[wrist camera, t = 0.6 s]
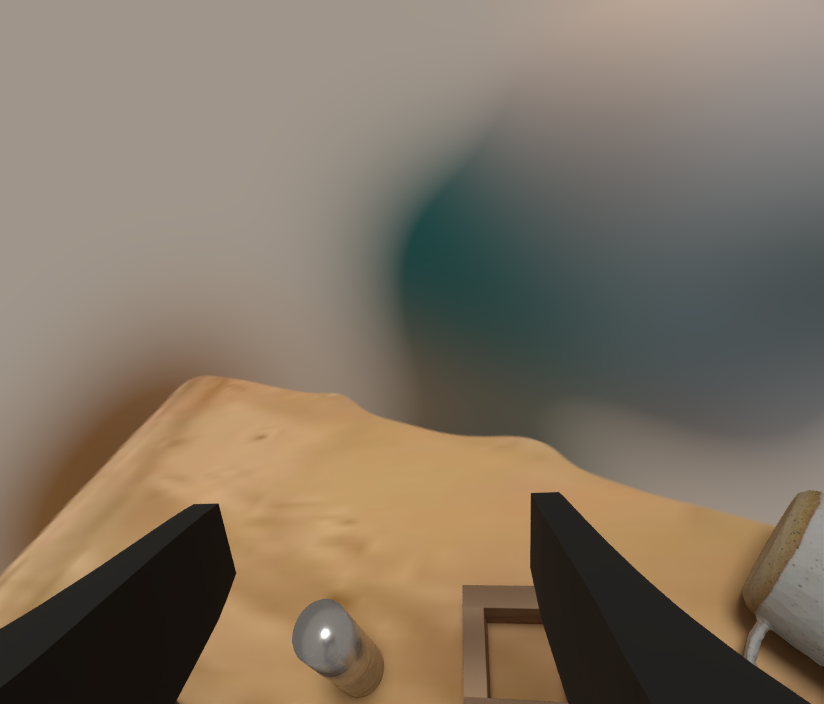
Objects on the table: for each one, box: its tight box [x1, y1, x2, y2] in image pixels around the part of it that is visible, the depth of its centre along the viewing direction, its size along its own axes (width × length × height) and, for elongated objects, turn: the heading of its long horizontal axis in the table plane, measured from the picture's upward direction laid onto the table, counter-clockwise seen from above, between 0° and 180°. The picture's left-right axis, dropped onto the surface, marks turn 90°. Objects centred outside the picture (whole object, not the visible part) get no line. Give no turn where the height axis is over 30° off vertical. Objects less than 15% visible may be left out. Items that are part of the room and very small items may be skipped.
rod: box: [292, 599, 384, 698], centre depth 22 cm, size 3×3×7 cm
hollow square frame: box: [463, 585, 568, 704], centre depth 22 cm, size 6×6×2 cm
